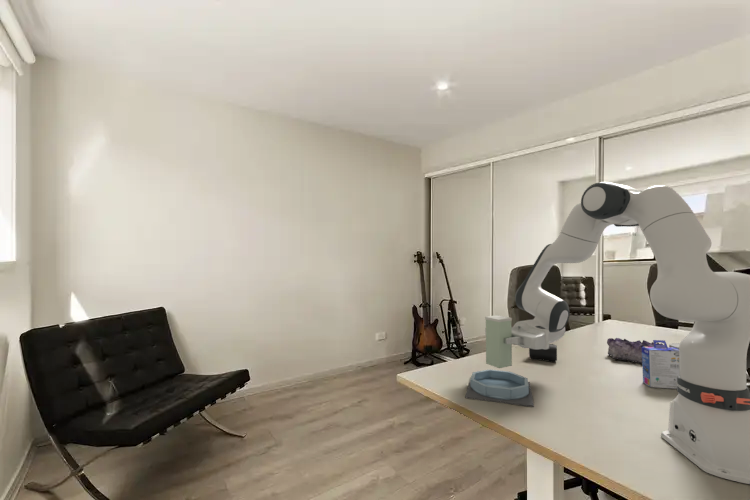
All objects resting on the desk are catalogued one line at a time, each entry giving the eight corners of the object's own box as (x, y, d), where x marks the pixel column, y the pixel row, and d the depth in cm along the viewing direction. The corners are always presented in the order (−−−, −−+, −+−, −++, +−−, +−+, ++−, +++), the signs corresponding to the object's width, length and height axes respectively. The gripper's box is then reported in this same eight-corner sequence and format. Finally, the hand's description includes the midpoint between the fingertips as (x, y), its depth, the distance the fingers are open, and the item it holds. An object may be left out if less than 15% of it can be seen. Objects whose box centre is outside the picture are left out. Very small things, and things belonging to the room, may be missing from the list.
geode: (667, 361, 143) (668, 337, 142) (670, 373, 134) (671, 347, 132) (606, 351, 155) (607, 329, 153) (605, 362, 145) (606, 338, 144)
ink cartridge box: (674, 383, 118) (674, 340, 118) (685, 390, 113) (684, 344, 113) (641, 381, 120) (640, 338, 120) (650, 387, 115) (649, 342, 115)
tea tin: (512, 365, 113) (511, 317, 113) (499, 368, 110) (498, 319, 110) (498, 360, 118) (497, 315, 118) (485, 363, 115) (485, 316, 115)
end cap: (529, 360, 145) (529, 344, 145) (530, 356, 151) (530, 340, 151) (556, 364, 140) (556, 347, 140) (557, 359, 146) (556, 343, 146)
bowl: (530, 403, 102) (529, 392, 103) (468, 395, 109) (468, 384, 109) (527, 382, 119) (527, 373, 119) (473, 376, 125) (473, 367, 125)
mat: (533, 407, 101) (533, 405, 101) (465, 397, 108) (465, 396, 108) (529, 383, 120) (529, 381, 120) (471, 376, 126) (471, 375, 126)
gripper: (501, 319, 129) (473, 323, 123) (553, 330, 111) (523, 335, 105) (501, 337, 129) (473, 341, 123) (553, 350, 111) (523, 356, 105)
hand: (496, 338), depth 113 cm, fingers closed on tea tin, 5 cm apart
